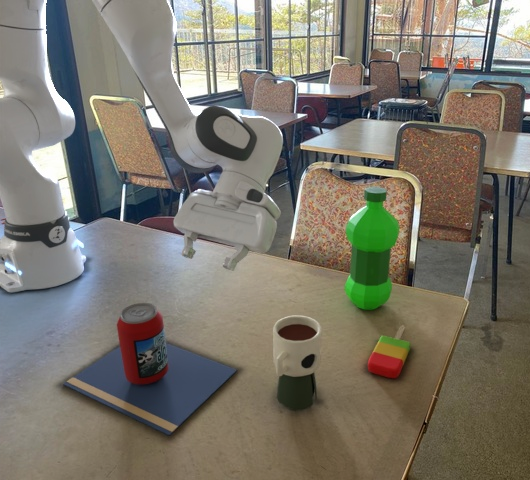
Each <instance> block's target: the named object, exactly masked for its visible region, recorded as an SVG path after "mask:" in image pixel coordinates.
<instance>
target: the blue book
mask: <svg viewBox="0 0 530 480" xmlns="http://www.w3.org/2000/svg"><path fill="white" fill-rule="evenodd" d="M166 348H167V357H168V366H169V368H168V371H167V373H166V374H165V376H163V377H162V378H161V379H159V380H158V381H155V382H153V383H150V384H142V385H140V384H134V383H131V382H129V381H128V380H127V379H126V377H125V371H124V366H123V360H122V355H121V349H120V345H119V346H118V347H116V348H114V349H113V350H111V351H110V352H108V353H107V354H105V355H104V356H103V357H101V358H99V359H98V360H97V361H95V362H94V363H92V364H90V365H89V366H88V367H86V368H84V369H83V370H81V371H80V372H79V373H77V374H76V375H74V376H72V377H70V378H69V379H68V380H66V381H65V382H64V383H62V386H65V387H67V388H69V389H71V390H73V391H75V392H77V393H79V394H81V395H83V396H86V397H88V398H90V399H92V400H94V401H96V402H98V403H100V404H102V405H104V406H107V407H108V408H110V409H112V410H114V411H117V412H119V413H120V414H123V415H125V416H127V417H129V418H131V419H133V420H135V421H138V422H139V423H142V424H144V425H146V426H148V427H149V428H152V429H154V430H156V431H158V432H159V433H162V434H164V435H166V436H171V435H172V434H173V433H174V432H175V431H176V430H177V429H178V428H179V427H180V426H181V425H182V424H183V423H185V421H187V419H189V418H190V417H191V416H192V415H193V414H194V413H195V412H196V411H197V410H198V409H199V408H200V407H201V406H202V405H203V404H204V403H205V402H206V401H207V400H208V399H210V397H212V396H213V395H214V394H215V392H217V391H218V390H219V389H220V388H221V387H222V386H223V385H224V384H225V383H226V382H227V381H228V380H229V379H231V377H233V376H234V374H235V373H237V372H238V369H236V368H233V367H231V366H228V365H225V364H223V363H220V362H217V361H215V360H213V359H209V358H207V357H205V356H202V355H200V354H196V353H194V352H192V351H189V350H186V349H183V348H181V347H178V346H176V345H173V344H170V343H168V342H166Z"/></svg>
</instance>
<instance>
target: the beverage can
mask: <svg viewBox="0 0 530 480" xmlns="http://www.w3.org/2000/svg"><path fill="white" fill-rule="evenodd" d="M161 313H162V312H160V311H159V309H158V308H157V306H156V305H154V304H153V303H149V302H138V303H133V304H130V305H128V306H126V307H125V308H123V309H122V310H121V311H120V314H119V317H118V319H117V322H116V329H117V337H118V342H119V346H120V349H121V355H122V360H123V366H124V371H125V377H126V379H127V380H128V381H129V382H131V383H134V384H140V385H142V384H150V383H153V382H155V381H158V380H159V379H161V378H162V377H163V376H165V374H166V373H167V371H168V368H169V366H168V357H167V348H166V343H167V341H166V332H165V331H166V330H165V325H164V324H165V323H164V317H163V315H162V314H161Z"/></svg>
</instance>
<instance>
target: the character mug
mask: <svg viewBox="0 0 530 480" xmlns="http://www.w3.org/2000/svg"><path fill="white" fill-rule="evenodd" d="M322 332H323V331H322V325H321V323H319V322H318V321H317V320H316V319H314V318H312V317H310V316H306V315H301V314H297V315H288V316H285V317H282V318H281V319H280V318H279V320H277V321H276V322H275V323H274V325H273V327H272V347H273V349H272V350H273V356H272V357H273V365H274V368H275V374H276V376H277V377H278V381H277V387H276V399H277V400H278V402H279V404H281V405H282V406H284V407H286V408H288V409H291V410H293V411H300V410H301V411H302V410H307V409H308V408H310V407H312V406H313V405H314V399H315V400H317V399H318V390H317V380H316V374H315V373H316V372H317V371H318V370H319V368H320V366H321V362H322V354H321V348H322V342H323V338H322V334H323V333H322ZM314 397H315V398H314Z"/></svg>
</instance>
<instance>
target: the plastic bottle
mask: <svg viewBox="0 0 530 480" xmlns="http://www.w3.org/2000/svg"><path fill="white" fill-rule="evenodd" d="M387 195H388V189H386V188H384V187H381V186H368V187H365V189H364V193H363V200H365V201H366V204H365V206H363V207H361V208H360V209H359V210H358V211H356V212H355V213H354V214H352V215H351V217H350V218H349V220H348V221H347V224H346V226H345V235H346V240H347V241H348V242H349V243H350V244H351V251H350V252H351V254H350V271H349V275H348V277H347V279H346V282H345V283H344V292H345V295H346V296H347V297H348V298H349V300H350V301H351V302H352V303H353V304H354V305H355V307H357V308H358V309H362V310H365V311H366V310H367V311H369V310H371V311H373V310H375V309H378V308H379V307H380V306H382V305H384V304H386V303H387V302H388V301H389V299H390V297H391V294H392V290H393V283H392V280H391V278H390V276H389V275H390V264H391V263H390V262H391V255H392V248H393V247H395V246H396V244H397V240H398V238H399V234H400V224H399V220H398V219H397V218H395V216H394V215H393V214H392V213H390V212H389V211H388V210H387V209H386V208H385V207H384V202H386V201H387Z"/></svg>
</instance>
